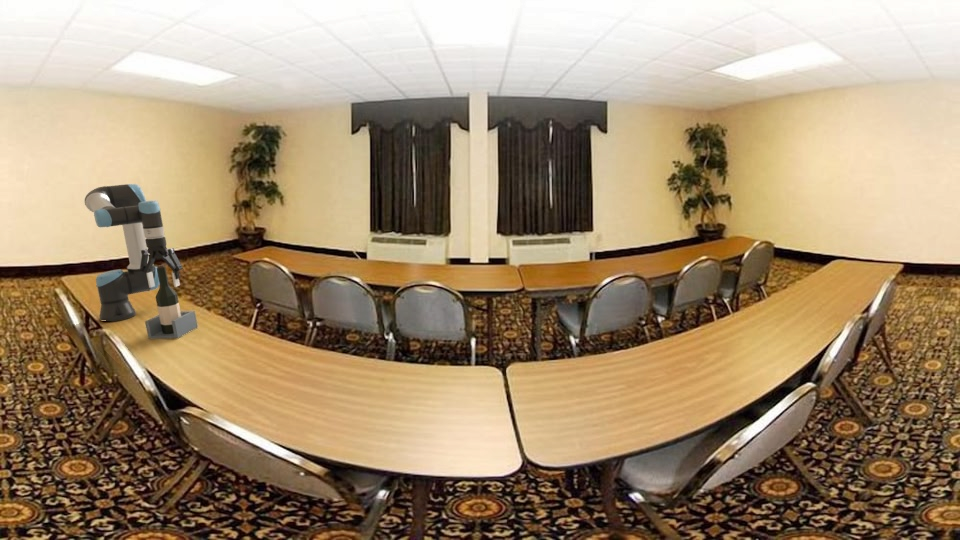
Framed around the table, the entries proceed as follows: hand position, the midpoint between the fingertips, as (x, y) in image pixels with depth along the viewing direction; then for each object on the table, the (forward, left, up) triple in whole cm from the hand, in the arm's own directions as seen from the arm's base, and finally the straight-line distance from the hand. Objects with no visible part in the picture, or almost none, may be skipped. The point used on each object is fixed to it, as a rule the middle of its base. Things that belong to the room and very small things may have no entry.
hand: (164, 286), depth 240 cm
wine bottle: (0, 0, -21) cm, 21 cm away
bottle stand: (0, 0, -22) cm, 22 cm away
